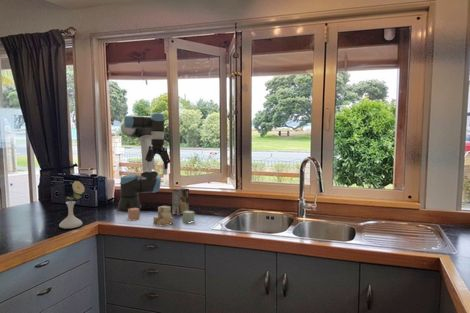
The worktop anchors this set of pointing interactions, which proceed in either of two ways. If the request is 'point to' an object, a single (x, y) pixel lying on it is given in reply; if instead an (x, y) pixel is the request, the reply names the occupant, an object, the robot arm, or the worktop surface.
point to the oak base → (163, 220)
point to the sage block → (188, 216)
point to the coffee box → (180, 201)
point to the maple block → (164, 212)
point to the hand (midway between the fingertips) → (157, 173)
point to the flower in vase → (71, 219)
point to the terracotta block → (133, 213)
